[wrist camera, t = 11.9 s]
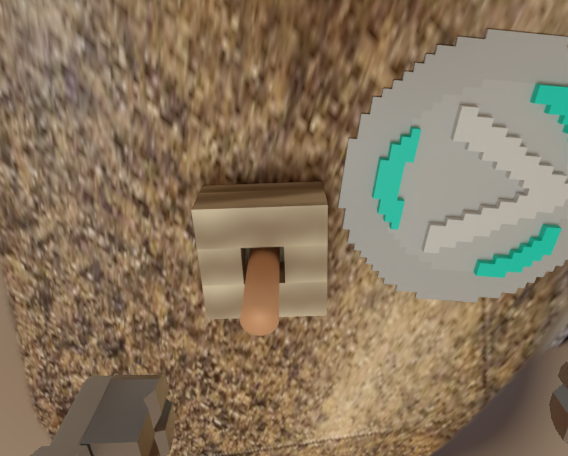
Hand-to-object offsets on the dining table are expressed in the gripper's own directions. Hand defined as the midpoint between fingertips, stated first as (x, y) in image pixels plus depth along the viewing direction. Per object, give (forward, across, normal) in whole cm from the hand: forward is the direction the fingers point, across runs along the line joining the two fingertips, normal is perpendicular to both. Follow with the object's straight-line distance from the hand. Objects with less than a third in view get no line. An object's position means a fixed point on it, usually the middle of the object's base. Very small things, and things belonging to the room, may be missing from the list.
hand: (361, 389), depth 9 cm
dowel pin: (+32, +4, +14) cm, 35 cm away
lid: (+35, -18, +9) cm, 40 cm away
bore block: (+34, +4, +14) cm, 37 cm away
